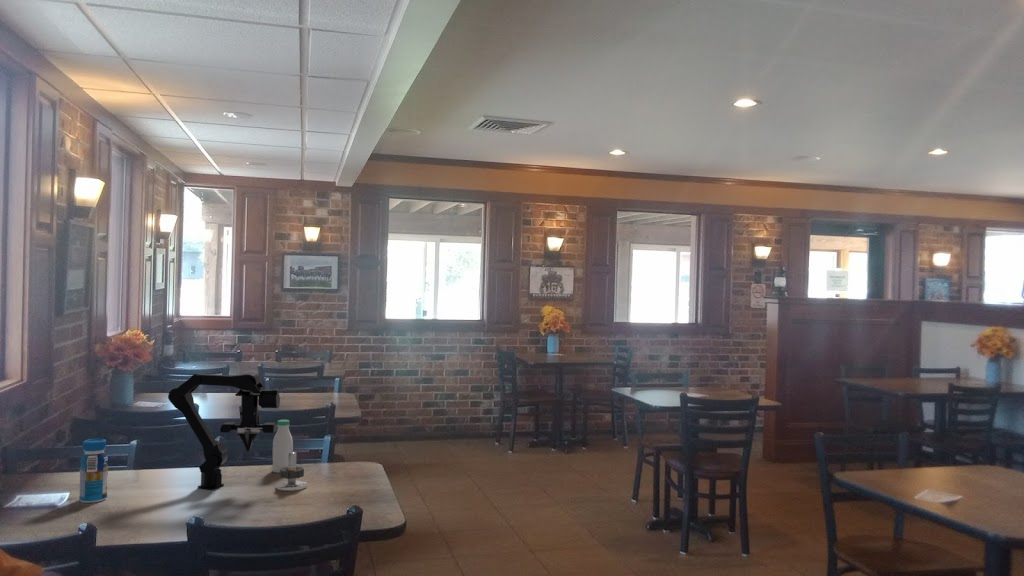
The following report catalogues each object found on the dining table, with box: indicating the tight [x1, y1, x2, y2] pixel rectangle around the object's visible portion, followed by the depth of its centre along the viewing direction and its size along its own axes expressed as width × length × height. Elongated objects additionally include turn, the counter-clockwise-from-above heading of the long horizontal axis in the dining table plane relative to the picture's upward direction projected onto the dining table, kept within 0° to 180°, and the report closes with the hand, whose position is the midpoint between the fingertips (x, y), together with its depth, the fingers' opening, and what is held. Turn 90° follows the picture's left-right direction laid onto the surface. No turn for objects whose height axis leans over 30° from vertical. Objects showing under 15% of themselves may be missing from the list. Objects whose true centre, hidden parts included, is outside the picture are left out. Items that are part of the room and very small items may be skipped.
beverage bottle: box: [78, 438, 109, 504], centre depth 249 cm, size 8×8×20 cm
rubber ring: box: [279, 465, 305, 480], centre depth 270 cm, size 8×8×2 cm
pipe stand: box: [275, 451, 308, 492], centre depth 270 cm, size 11×11×12 cm
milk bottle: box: [271, 419, 294, 474], centre depth 293 cm, size 8×8×20 cm
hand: (248, 451), depth 269 cm, fingers closed
